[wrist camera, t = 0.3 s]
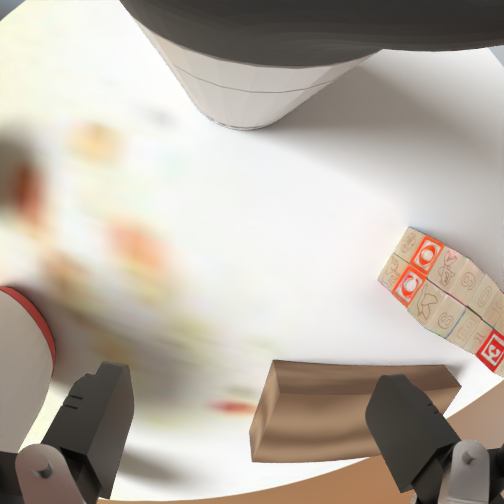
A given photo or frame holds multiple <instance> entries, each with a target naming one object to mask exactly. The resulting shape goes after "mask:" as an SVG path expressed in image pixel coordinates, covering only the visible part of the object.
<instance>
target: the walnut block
mask: <svg viewBox="0 0 504 504" xmlns="http://www.w3.org/2000/svg"><path fill="white" fill-rule="evenodd" d="M398 373H402V374H404V375H405V376H406V377H407V378H408V379H409V381H410V382H411V383H412V385H413V386H416V387H417V388H419V389H420V390H421V391H423V392H424V393H426V395H427V396H428V397H429V398H430V400H431V401H432V402H433V405H435V406H436V407H437V409H438V410H439V413H441V414H442V415H443V414H444V412H445V411H446V410H447V408H448V407H449V405H450V404H451V402H452V401H453V399H454V398H455V396H456V395H457V393H458V392H459V390H460V389H461V387H462V386H461V385H460V384H459V383H458V381H457V380H456V379H455V378H454V377H453V376H452V374H451V373H450V372H449V371H448V370H447V369H446V368H445V366H444V365H423V366H358V365H333V364H316V363H303V362H291V361H280V360H273V361H272V364H271V367H270V371H269V374H268V377H267V380H266V383H265V386H264V389H263V392H262V395H261V398H260V401H259V404H258V407H257V410H256V413H255V416H254V419H253V422H252V424H251V427H250V430H249V435H250V446H251V457H252V462H261V463H304V462H324V461H337V460H347V459H356V458H364V457H372V456H378V455H382V454H381V452H380V450H379V448H378V446H377V444H376V442H375V440H374V438H373V436H372V434H371V432H370V430H369V428H368V426H367V424H366V420H365V411H366V408H367V405H368V403H369V401H370V398H371V396H372V394H373V391H374V389H375V387H376V384H377V382H378V380H379V378H380V377H381V376H382V375H389V374H398Z"/></svg>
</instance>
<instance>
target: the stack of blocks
mask: <svg viewBox="0 0 504 504" xmlns="http://www.w3.org/2000/svg"><path fill="white" fill-rule="evenodd" d="M378 281H379V282H380V283H381V284H382V285H383V286H385V287H386V288H387V289H388V290H389V291H390V292H391V293H392V294H393V295H394V296H395V297H396V298H397V299H398V300H399V301H400V302H401V303H402V304H403V305H404V306H405V307H406V308H408V309H407V310H408V312H409V313H410V314H411V315H412V316H413V317H414V318H415V319H416V320H417V321H418V322H419V323H420V324H421V325H422V326H424V327H425V328H426V329H427V330H430V331H431V332H433V333H435V334H437V335H439V336H441V337H443V338H445V339H446V340H447V341H449V342H451V343H453V344H455V345H457V346H459V347H461V348H462V349H464V350H466V351H468V352H470V353H472V354H475V356H476V357H477V358H478V359H479V360H481V361H482V362H483V363H484V364H485V365H486V366H487V367H488V368H489V369H490V370H491V371H492V372H493V373H495V374H497V375H499V376H501V377H504V293H503V292H502V291H501V290H500V289H499V286H498V285H497V284H496V283H495V282H494V281H493V280H492V279H491V278H490V277H489V276H488V275H487V274H486V273H485V272H484V271H482V270H481V269H480V268H478V266H477V265H475V264H474V263H473V262H472V261H471V260H470V259H469V258H468V257H466V256H464V255H462V254H460V253H458V252H456V251H454V250H453V249H450V248H449V247H448V246H447V245H446V244H444V243H442V242H440V241H438V240H436V239H434V238H432V237H430V236H428V235H425V234H423V233H421V232H419V231H417V230H415V229H413V228H411V227H408V229H407V231H406V232H405V234H404V236H403V238H402V239H401V241H400V243H399V244H398V246H397V248H396V250H395V251H394V253H393V254H392V256H391V257H390V259H389V261H388V262H387V264H386V266H385V267H384V269H383V270H382V272H381V274H380V275H379V277H378Z"/></svg>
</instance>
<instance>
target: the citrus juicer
mask: <svg viewBox="0 0 504 504" xmlns="http://www.w3.org/2000/svg"><path fill="white" fill-rule="evenodd" d="M54 363H55V345H54V340H53V337H52V334H51V331H50V329H49V327H48V325H47V323H46V322H45V320H44V318H43V317H42V315H41V314H40V312H39V311H38V310H37V309H36V307H35V306H34V305H33V304H32V303H31V302H30V301H29V300H28V299H27V298H26V297H24V296H23V295H22V294H20V293H19V292H17V291H15V290H14V289H11V288H8V287H0V451H4V452H10V453H18V451H19V449H20V447H21V445H22V443H23V441H24V439H25V437H26V436H27V434H28V432H29V430H30V428H31V426H32V425H33V423H34V421H35V419H36V418H37V416H38V414H39V412H40V410H41V408H42V406H43V404H44V401H45V398H46V395H47V392H48V389H49V384H50V379H51V377H52V375H53V370H54Z"/></svg>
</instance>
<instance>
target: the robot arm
mask: <svg viewBox="0 0 504 504" xmlns="http://www.w3.org/2000/svg"><path fill="white" fill-rule="evenodd" d="M120 2H121V3H122V4H123V6H124V7H125V8H126V10H127V11H128V12H129V13H130V15H131V16H132V18H133V19H134V20H135V22H136V23H137V24H138V26H139V27H140V28H141V30H142V31H143V32H144V34H145V35H146V37H147V38H148V39H149V41H150V42H151V43H152V45H153V46H154V48H155V49H156V50H157V51H158V53H159V54H160V55H161V57H162V58H163V60H164V61H165V63H166V64H167V65H168V67H169V68H170V70H171V71H172V73H173V74H174V75H175V77H176V78H177V80H178V81H179V83H180V84H181V86H182V87H183V88H184V90H185V91H186V93H187V94H188V96H189V97H190V99H191V100H192V102H193V103H194V104H195V106H196V107H197V108H198V110H199V111H200V112H201V113H202V114H203V115H204V116H206V117H207V118H208V119H209V120H211V121H213V122H215V123H217V124H219V125H220V126H224V127H227V128H231V129H237V130H252V129H259V128H262V127H265V126H269V125H271V124H272V123H274V122H276V121H278V120H280V119H281V118H282V117H284V116H285V115H286V114H288V113H289V112H291V111H292V110H294V109H295V108H296V107H298V106H299V105H300V104H302V103H303V102H305V101H306V100H307V99H309V98H310V97H312V96H313V95H314V94H316V93H317V92H319V91H320V90H322V89H323V88H324V87H326V86H327V85H329V84H330V83H332V82H333V81H335V80H336V79H338V78H339V77H341V76H342V75H344V74H345V73H347V72H348V71H350V70H351V69H352V68H354V67H355V66H357V65H358V64H360V63H361V62H363V61H364V60H366V59H368V58H369V57H371V56H372V55H374V54H376V53H377V52H379V51H380V50H382V49H391V50H405V51H431V52H437V51H459V50H469V49H479V48H485V47H492V46H499V45H504V0H120ZM133 414H134V398H133V392H132V385H131V378H130V371H129V367H128V365H125V364H119V363H113V362H108V361H104V362H103V363H102V364H101V366H100V368H99V369H98V371H97V373H96V375H91V374H86V375H85V376H83V377H82V378H80V379H79V380H78V381H76V382H75V384H74V385H73V387H72V389H71V390H70V392H69V394H68V396H67V397H66V399H65V400H64V402H63V406H61V407H60V409H59V411H58V413H57V414H56V416H55V418H54V420H53V422H52V423H51V425H50V427H49V429H48V431H47V433H46V435H45V436H44V438H43V440H42V442H41V443H40V444H33V445H29V446H27V447H25V448H23V449H22V450H21V451H20V452H19V453H10V452H4V451H0V504H96V501H97V497H101V498H105V499H109V500H110V496H111V492H112V488H113V484H114V481H115V477H116V473H117V470H118V466H119V463H120V459H121V456H122V452H123V449H124V445H125V442H126V439H127V435H128V432H129V429H130V426H131V422H132V419H133ZM365 420H366V424H367V426H368V428H369V430H370V432H371V434H372V436H373V438H374V440H375V442H376V444H377V446H378V448H379V450H380V452H381V454H382V456H383V458H384V460H385V462H386V464H387V466H388V468H389V470H390V472H391V474H392V476H393V478H394V480H395V482H396V484H397V486H398V488H399V491H400V493H403V492H406V491H409V490H412V489H414V490H415V492H416V493H415V494H414V496H413V497H412V499H411V502H410V504H504V499H503V498H502V496H501V494H500V493H501V492H502V491H503V490H504V444H503V445H502V447H501V448H497V449H489V450H486V448H485V447H484V446H483V445H482V444H480V443H478V442H476V441H473V440H461V439H460V438H459V437H458V435H457V434H456V432H455V431H454V430H453V429H452V427H451V426H450V425H449V423H448V422H447V421H446V419H445V418H444V417H443V415H442V414H441V413H439V410H438V409H437V407H436V406H435V405H433V402H432V401H431V400H430V398H429V397H428V396H427V395H426V393H424V392H423V391H421V390H420V389H419V388H417V387H416V386H413V385H412V383H411V382H410V381H409V379H408V378H407V377H406V376H405V375H404V374H402V373H398V374H389V375H382V376H381V377H380V378H379V380H378V382H377V384H376V387H375V389H374V391H373V394H372V396H371V398H370V401H369V403H368V405H367V408H366V411H365Z"/></svg>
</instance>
